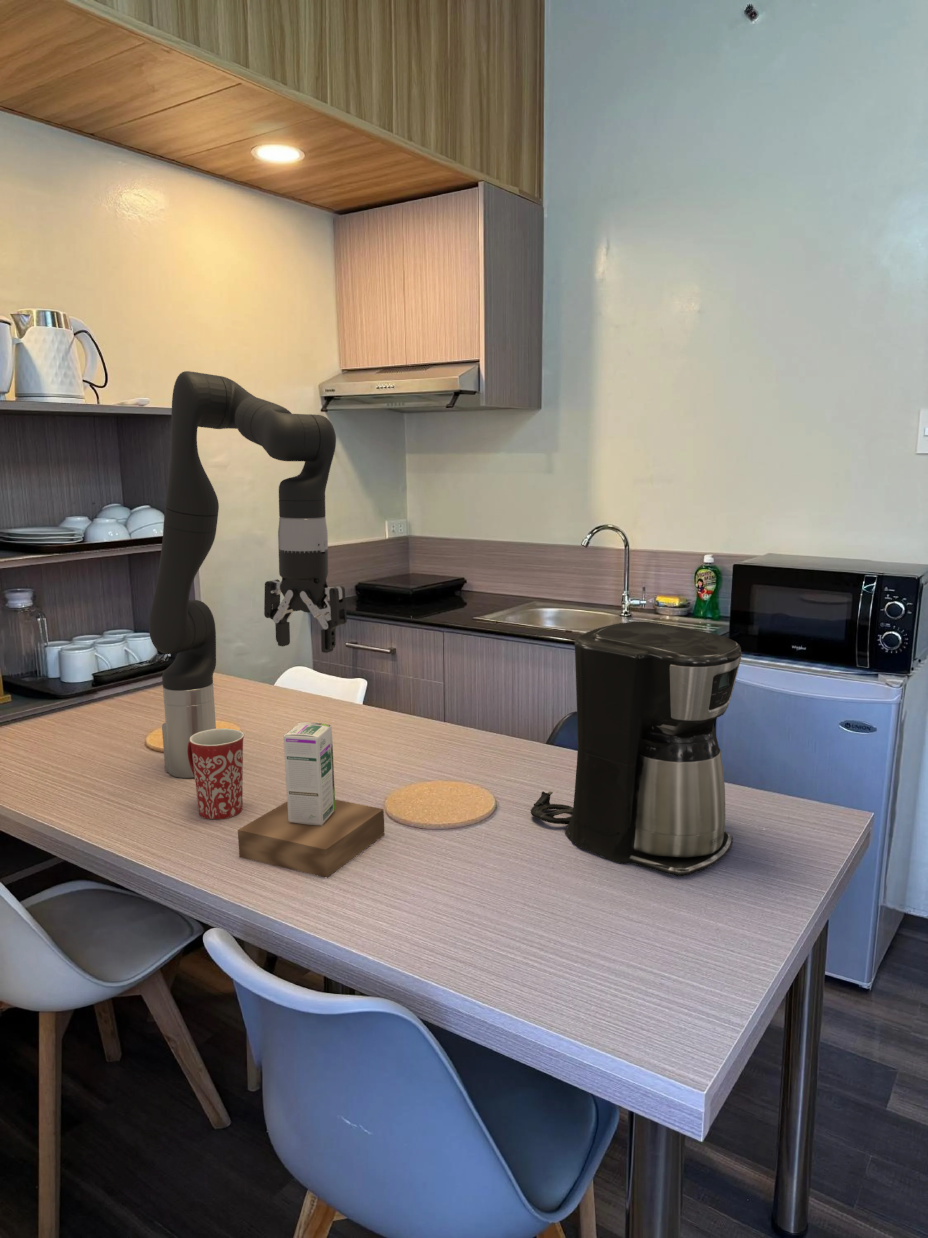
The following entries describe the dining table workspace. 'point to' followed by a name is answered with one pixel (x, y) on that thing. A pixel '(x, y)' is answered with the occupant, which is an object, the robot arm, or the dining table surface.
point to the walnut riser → (312, 838)
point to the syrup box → (309, 773)
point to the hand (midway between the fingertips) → (305, 648)
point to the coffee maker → (650, 746)
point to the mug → (217, 771)
